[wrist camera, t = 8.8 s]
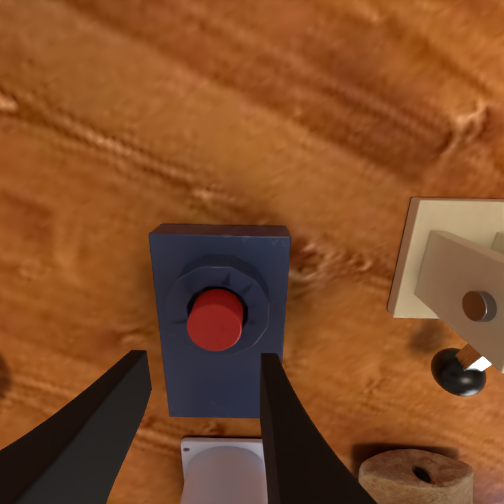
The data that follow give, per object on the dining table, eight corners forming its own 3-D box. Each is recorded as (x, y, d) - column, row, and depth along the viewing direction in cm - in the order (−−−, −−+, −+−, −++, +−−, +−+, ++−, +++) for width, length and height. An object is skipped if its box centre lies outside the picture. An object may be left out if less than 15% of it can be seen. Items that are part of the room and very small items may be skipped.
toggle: (456, 360, 19) (479, 403, 17) (416, 359, 19) (434, 402, 17) (568, 264, 13) (627, 317, 11) (507, 263, 13) (555, 315, 11)
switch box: (484, 312, 20) (621, 408, 12) (386, 310, 20) (465, 405, 12) (525, 199, 17) (734, 236, 10) (410, 197, 17) (532, 232, 10)
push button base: (275, 393, 22) (280, 442, 19) (177, 391, 22) (162, 439, 19) (286, 226, 18) (295, 246, 14) (161, 223, 18) (135, 243, 14)
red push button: (243, 331, 16) (241, 352, 14) (194, 330, 16) (188, 351, 14) (243, 288, 15) (242, 305, 13) (192, 287, 15) (184, 304, 13)
